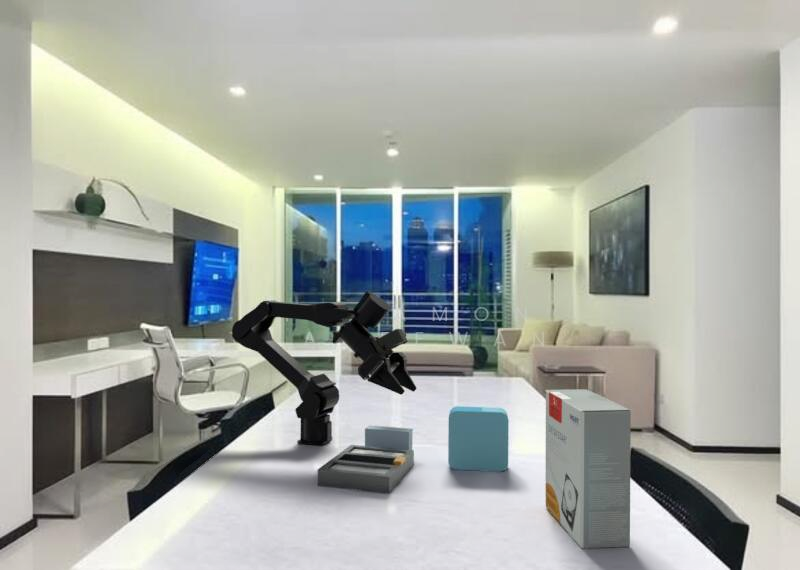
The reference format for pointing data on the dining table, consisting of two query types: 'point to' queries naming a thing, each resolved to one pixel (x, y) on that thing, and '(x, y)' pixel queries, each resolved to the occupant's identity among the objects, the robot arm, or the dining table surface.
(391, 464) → the frame
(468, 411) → the data package
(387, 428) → the block
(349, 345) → the robot arm
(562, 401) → the hard drive box
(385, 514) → the dining table surface
